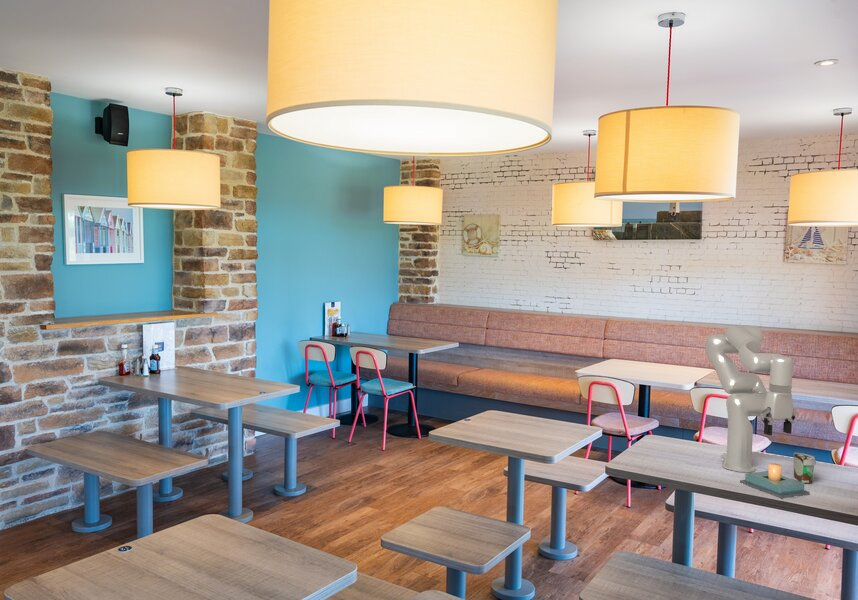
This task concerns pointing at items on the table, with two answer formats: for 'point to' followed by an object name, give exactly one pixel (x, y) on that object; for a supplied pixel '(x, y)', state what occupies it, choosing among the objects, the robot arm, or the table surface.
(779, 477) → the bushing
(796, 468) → the food container
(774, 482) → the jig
